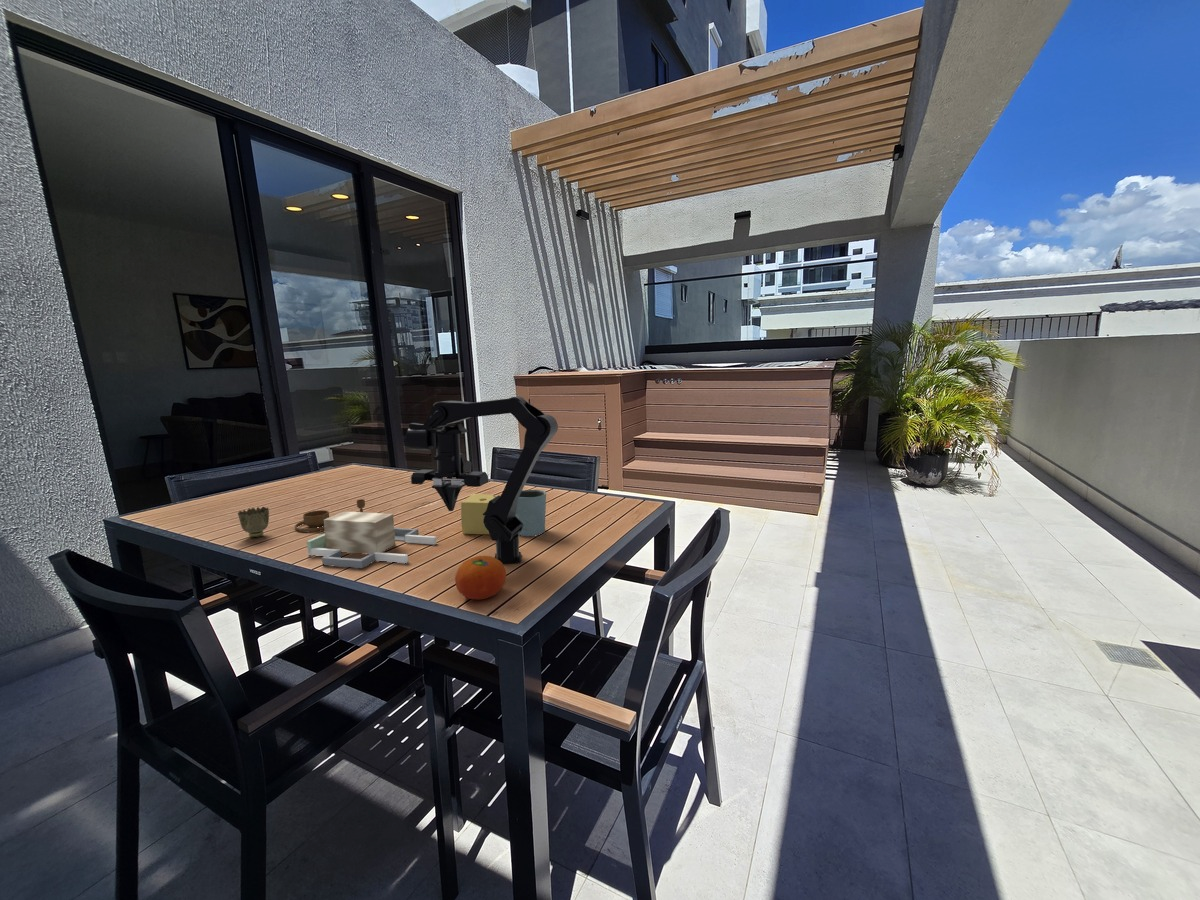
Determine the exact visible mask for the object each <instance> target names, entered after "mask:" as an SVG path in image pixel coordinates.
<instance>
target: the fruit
mask: <svg viewBox="0 0 1200 900" xmlns="http://www.w3.org/2000/svg"><path fill="white" fill-rule="evenodd" d="M506 580H507V571H506V567H505V565H504V563H503V564H502V562H501V561H499V560H498V559H496V558H495V556H491V555H478V556H474V557H470V558H468V559H466V560H465V561H463V562H462V563H461V564H460V565H459V566H458V569H457V570H456V573H455V577H454V582H455V586H456V590H457V591H458V592H459V594H461V595H462V596H463V597H465V598H467V599H468V600H469V599H471V600H485V599H488V598H491V597H493V596H495V595H496V594H498V593H499V592H500V591H501V590H502V589H503V587H504V586H505V583H506Z"/></svg>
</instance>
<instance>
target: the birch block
mask: <svg viewBox="0 0 1200 900" xmlns="http://www.w3.org/2000/svg"><path fill="white" fill-rule="evenodd" d="M394 518H395V517H394V513H382V512H381V513H380V512H364V511H363V512H360V511H342V512H339V513H337V514H334V515H332V516H329V518H327V519H324V526H323V527H324V529H325V530H324V531H325V533H324V534H325V540H326V549H340V550H341V552H347V553H346V554H352V553H367V554H371V553H375V552H380V553H381V552H382V553H384V552H386V551H387V550H389V549H391V548H393V547H394V546H396V541H395V532H394V528H395V521H394ZM392 546H393V547H392ZM390 547H391V548H390ZM388 548H389V549H388ZM386 549H387V550H386ZM385 550H386V551H385ZM383 551H384V552H383ZM367 554H366V555H367Z"/></svg>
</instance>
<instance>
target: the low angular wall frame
mask: <svg viewBox="0 0 1200 900" xmlns="http://www.w3.org/2000/svg"><path fill="white" fill-rule="evenodd" d="M394 532H395V542H404V543H405V544H406V543H408V544H417V545H418V544H422V545H437V536H431V535H419V528H405V527H404V528H403V527H394ZM306 544H307V545H306V546H307V556H308V555H318V556H325V557H321V563H322V564H321V565H323V564H324V565H334V566H341V567H340V568H346V567H354V568H353V569H358V568H363V567H365V566H366V565H368V564H370V563H371V562H373V561H375V560H377V561H375V562H379V561H387V562H386V563H392V562H397V563H396V564H405V563H406V564H407V563H409V556H408V554H405V553H393V552H392V553H391V552H382V553H380V552H375V553H371V554H369V555H367V554H366V556H364V557H362V558H350V557H349V558H348V557H342V554H343V553H341V550H340V549H326V540H325V533H322V534H320V535H318V536H316V537H314V538H311V539H309V540H307V541H306ZM341 557H342V558H341ZM373 563H374V562H373ZM371 564H372V563H371ZM371 564H370V565H371ZM368 566H369V565H368ZM366 567H367V566H366ZM366 567H365V568H366ZM363 569H364V568H363Z"/></svg>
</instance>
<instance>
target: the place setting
mask: <svg viewBox="0 0 1200 900" xmlns="http://www.w3.org/2000/svg"><path fill="white" fill-rule="evenodd" d="M365 502H366V500H365V499H364V498H362V499H356V506H357V509H360V510H359V512H364V511H363V510H364V508H365V507H366V503H365ZM302 516H303V517H302V519H303V521H302V520H301V521H300V522H298V523H295V525H294V529H295V530H296V531H297V530H298V531H297V532H299V531H310V532H309V533H312V532H311V531H316V532H321V531H320V530H322V531H325V529H324V519H327V518H329V517H330V511H328V510H324V509H323V510H321V509H320V510H313V511H308V512H305V513H304V514H303V515H302ZM302 524H305V525H304V526H307V527H309V528H301V527H299V528H297V527H298V526H300V525H302ZM322 526H323V527H322ZM310 527H311V528H310ZM317 527H319V528H317ZM322 534H325V532H323V533H322Z"/></svg>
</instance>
